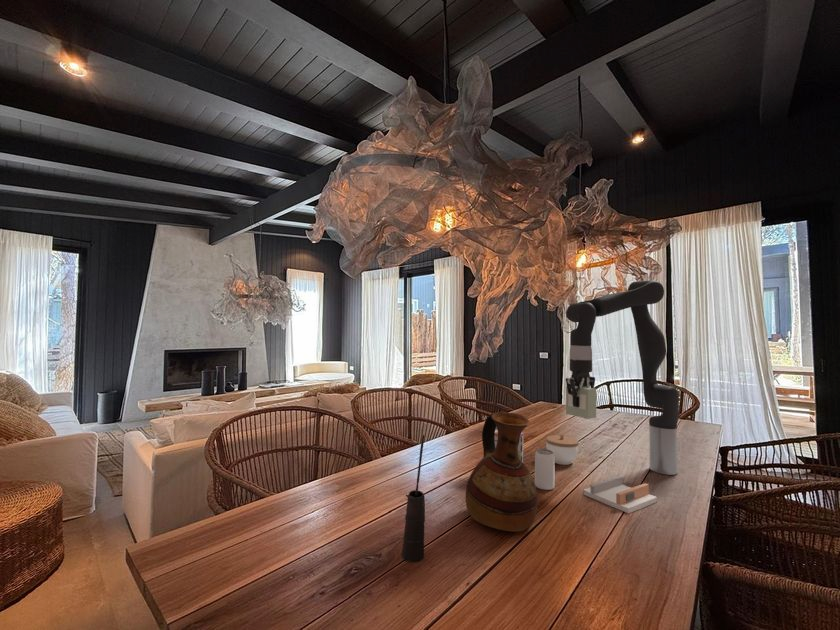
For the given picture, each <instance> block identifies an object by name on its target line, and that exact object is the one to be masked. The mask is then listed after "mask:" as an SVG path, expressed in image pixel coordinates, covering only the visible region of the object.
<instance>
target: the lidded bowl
mask: <svg viewBox="0 0 840 630" xmlns="http://www.w3.org/2000/svg"><path fill="white" fill-rule="evenodd" d="M545 441H546V444H545V445H546V449H547V450H551V451H553V455H554V458H555V464H558V465H561V466H568V465H571V464H572V463H573V462H574V461H575V460H576V458H577V456H578V452H579V441H578V439H576V438H573V437H571V436H566V435H564V434H562V433H561V434H560V435H556V434H554V435H548V436H546V437H545Z"/></svg>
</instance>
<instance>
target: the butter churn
mask: <svg viewBox="0 0 840 630" xmlns="http://www.w3.org/2000/svg"><path fill="white" fill-rule="evenodd" d="M424 441H425V434H422V437H421V443H420V451H419V459H418V460H419V461H418V467H417V468H418V469H417V477H416V486H415V489H414V490H411V491H410V492H408V494H405V497H407V498H406V499H407V500H406V509H405V510H406V511H405V512H406V513H405V516H404V519H405V524H404V532H403V538H402V539H403V540H402V548H401V549H402V550H401V555H400V556H401V559H402V560H403V561H404V562H405V561H408V562H411V563H413V562H414V563H418V562H421V561H423V560H424V558H425V522H426V505H425V503H426V502H425V501H426V500H425V498H426V497H425V493H424V492H423V491H421V490H419V483H420V476H421V475H420V474H421V468H422V458H423V457H422V456H423V451H424V443H425V442H424Z"/></svg>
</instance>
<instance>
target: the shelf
mask: <svg viewBox="0 0 840 630" xmlns="http://www.w3.org/2000/svg"><path fill="white" fill-rule="evenodd" d="M649 489H650V487H649V484H648V483H641V484H638V485H636V486H632V487H631V486H628V485H625V484H623V476H620V475H617V476H615V477H611V478H608V479H604V480H602V481H598V482H595V483H592V484H591V483H590V487H588V488H585V489H583V492H582V493H583V495H584V496H586V497H589V498H590V499H594V500H596V501H597V502H600V503H602V504H606V505H608V506H609V507H612V508H615V509H617V510H620V511H622V512H623V513H626V514H631V513H634V512H636V511H638V510H640V509H643V508H646V507H648V506H650V505H653V504H655V503H657V502H658V497H657V496H655V495H652V494H649V493H650V490H649Z"/></svg>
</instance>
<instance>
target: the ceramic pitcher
mask: <svg viewBox="0 0 840 630" xmlns="http://www.w3.org/2000/svg"><path fill="white" fill-rule="evenodd" d="M529 423H530V419H529V418H527V417H525V416H524V415H521V414H518V413H514V412H509V411H506V412H505V411H497V412H492V413H490V415H488V416H487V417H486V418H485V420H484V424H483V428H482V430H481V431H482V432H481V440H482V441H481V442H482V448H483V457H482V458H481V460H479V462H478V463H477V464H476V466H475V467H474V469H473V470H472V471H471V473H470V476H469V478H468V480H467V484H466V487H465V507H466V510H467V512H468V514H469V515H470V516H471V518H472V519H474V520H475V521H476V522H477V523H480V524H482V525H484V526H487V527H490V528H493V529H497V530H500V531H506V532H511V533H512V532H522V531H525V530H527V529H529V528H530V526H532V524H533V523H534V522H535V519H536V515H537V508H538V495H537V487H536V486H535V480H534V478H533V476H532V474H531V472H530V470H529V469H528V467H527V465H525V464H524V462H523V463H522V461H520V460H519V457H518V444H519V440H520V435H521V433H523V431H524V429H525V428H527V427H528V426H529ZM496 428H497V429H496ZM495 430H498V440H497V445H496V448H495Z"/></svg>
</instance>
